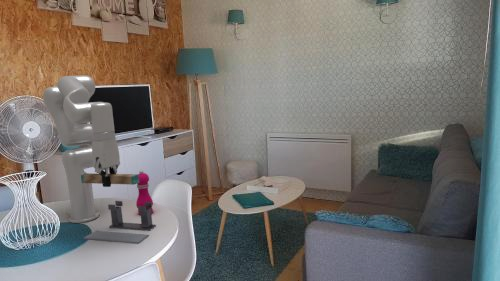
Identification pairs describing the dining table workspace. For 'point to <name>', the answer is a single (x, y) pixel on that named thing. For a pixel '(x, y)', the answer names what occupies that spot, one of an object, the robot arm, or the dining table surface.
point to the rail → (111, 178)
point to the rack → (118, 223)
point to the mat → (117, 237)
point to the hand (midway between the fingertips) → (110, 184)
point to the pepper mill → (143, 191)
